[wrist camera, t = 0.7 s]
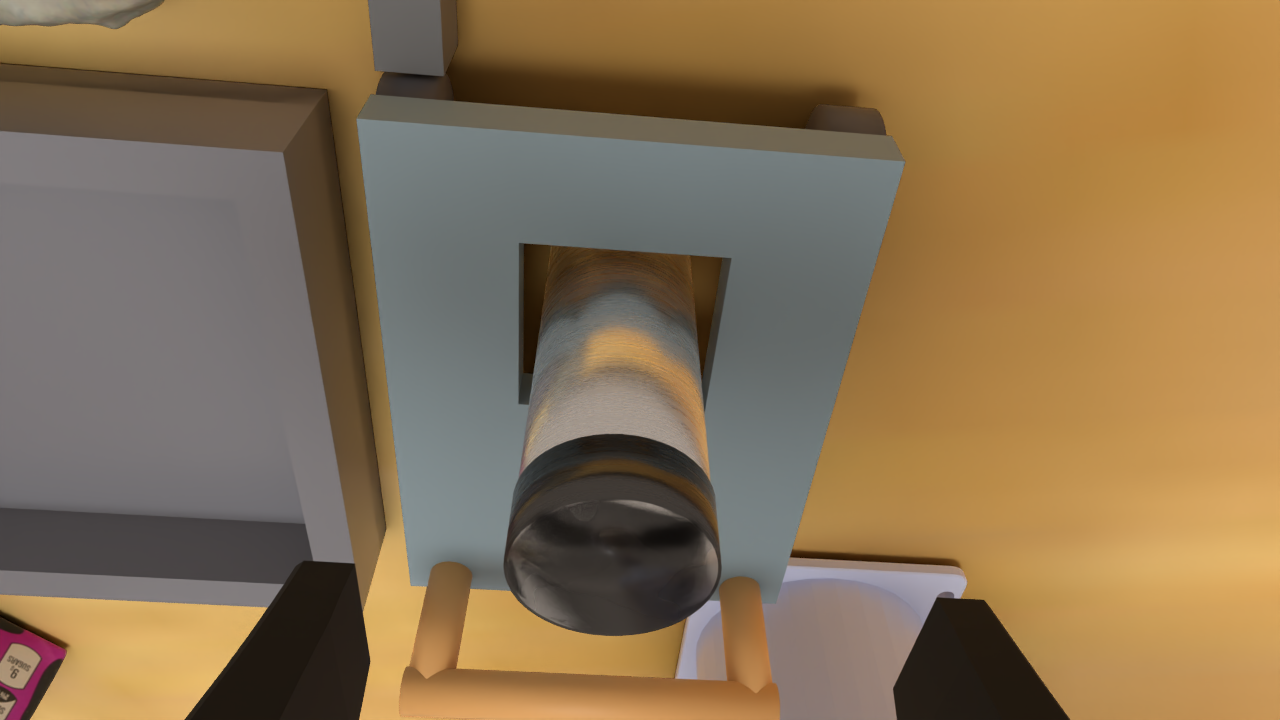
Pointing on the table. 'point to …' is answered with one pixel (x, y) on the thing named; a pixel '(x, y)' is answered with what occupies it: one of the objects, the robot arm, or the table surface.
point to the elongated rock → (73, 12)
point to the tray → (176, 342)
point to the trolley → (494, 325)
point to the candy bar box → (25, 670)
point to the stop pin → (615, 451)
